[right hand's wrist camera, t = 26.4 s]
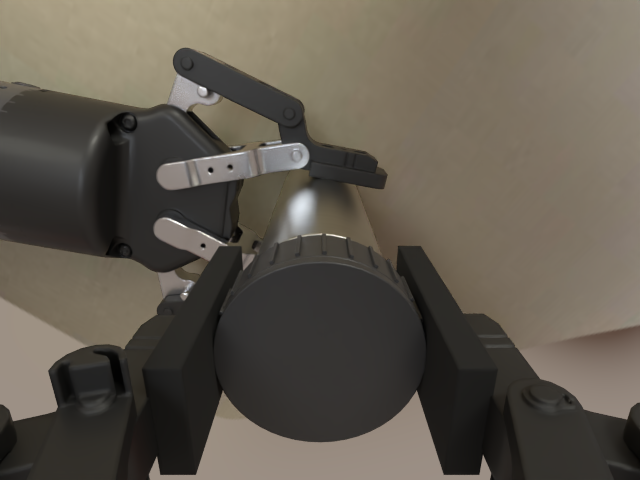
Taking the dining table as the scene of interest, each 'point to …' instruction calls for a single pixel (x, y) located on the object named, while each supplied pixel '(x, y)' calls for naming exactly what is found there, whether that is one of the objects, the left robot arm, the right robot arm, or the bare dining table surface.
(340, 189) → the silver metal cylinder
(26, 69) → the dining table surface
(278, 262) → the lid
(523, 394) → the right robot arm
